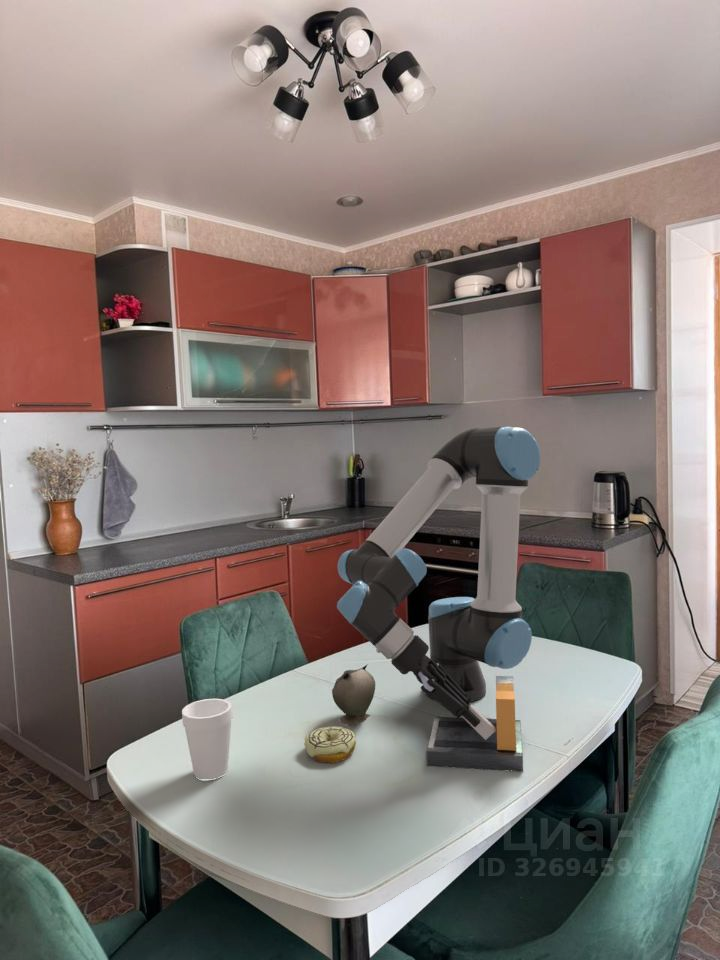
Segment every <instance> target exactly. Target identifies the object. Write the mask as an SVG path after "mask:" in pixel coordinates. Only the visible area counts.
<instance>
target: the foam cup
mask: <svg viewBox="0 0 720 960" xmlns="http://www.w3.org/2000/svg"><path fill="white" fill-rule="evenodd" d="M181 715H182V716H181V717H182V719H181V720H182V725H183V727H184V730H185V736H186V740H187V745H188V750H189V755H190V756H189V757H190V760H191V761H190V762H191V765H192V770H193V776H194V775H195V776H196V777H197V778H199V779H214V778H218V777H220V776H222V775H224V774H225V773H226V771H227V772H228V769H229V758H230V757H229V756H230V745H231V744H230V742H231V728H232V719H233V718H234V717H233V706H232V702H230V701H229V700H227V699H224V698H223V699H222V698H207V699H201V700H196V701H192V702H190V703H189V704H186V705H185V706H184V707H183V708H182V710H181ZM226 774H227V773H226ZM195 776H194V777H195Z"/></svg>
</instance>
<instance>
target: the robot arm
mask: <svg viewBox="0 0 720 960" xmlns="http://www.w3.org/2000/svg"><path fill="white" fill-rule="evenodd" d="M540 464H541V452H540V447H539V444H538V442H537V440H536V439H535V438H534V436H533V434H532V433H531V432H529V431H528V430H527V429H525V428H522V427H515V426H513V427H512V426H502V427H501V426H499V427H497V426H496V427H472V428H470V429H466V430H464V431H462V432H459V433H458V434H456V435H455V436H453V437H452V438H451V439H449V440H448V441H447V442H446V443H445V444H444V445H442V447H440V448H439V449H438V451H436V453H435V454H434V455H433V456H432V457H431V458H430V460H428V462H427V470H425V471H424V472H423V474H422V475H421V476H420V477H419V478H418V480H417V481H416V482H415V483H414V484H413V486H411V488H410V489H409V490H408V491H407V492H406V494H404V496H403V497H402V498H401V499H400V501H398V503H397V504H396V505H395V506H394V507H393V508H392V510H390V512H388V514H387V515H386V517H385V518H384V519H383V520H382V521H381V522H380V523H379V525H378V526H377V527H376V528H375V529H374V530H373V532H372V533H371V534H370V535H369V536H368V537H367V538H366V539H365V541H364V542H363V543H362V544H361V545H360V546H359V547H358V549H356V548H355V549H349V550H346V551H345V552H343V553H342V554H341V555H340V556H339V559H338V562H337V572H338V576H339V577H340V578H341V579H342V580H343V581H345V582H347V583H349V584H352V586H351V587H350V588H349V589H348V590H347V591H346V592H345V593H344V595H343V596H341V597H340V599H339V600H337V603H336V609H337V610H338V612H340V613H341V615H342V616H343V617H344V618H345V619H346V620H347V622H348V624H350V625H351V626H352V627H354V628H355V630H357V631H358V633H360V634H361V635H362V636H363V637H364V638H365V639H366V640H368V642H369V643H371V644H372V646H373V647H375V648H376V649H375V650H376V651H375V652H376V653H377V654H382V655H383V656H384V657H385V658H386V659H387V660H391V661H390V662H391V665H393V667H394V668H395V669H397V670H398V671H399V672H400V673H401V674H402V675H407V674H408V673H409V672H410V673H411V672H412V673H413V675H414V677H416V680H417V681H418V682H419V683H420V684H421V686H420V690H421V691H422V692H423V693H424V694H425V696H427V697H428V698H429V699H432V700H433V701H434V700H435V701H436V702H437V703H439V704H440V705H441V706H442V707H443V708H444V709H446V711H448V712H449V713H451V715H453V716H454V717H456V718H457V719H459V718H464V719H465V720H466V721H467V722H468V723H469V724H470V725H471V726H472V727H473V728H474V729H475V730H476V731H477V732H478V733H479V734H480V735H481V736H482V737H483V738H484V739H485V740H486V739H487V738H488V737H489V736H491V735H492V734H493V733H494V732H495V729H496V728H495V727H494V726H493V725H492V724H491V723H490V722H489V721H488V720H487V719H488V718H486V717H485V716H484V715H483V713H482V712H480V711H479V710H478V708H476V707H475V706H474V705H473V704H472V703H473V702H475V701H478V700H480V699H482V698H484V697H485V696H486V693H487V683H486V680H485V677H484V674H483V671H482V668H481V666H480V662H481V663H483V664H486V665H487V666H489V667H493V668H499V669H503V670H509V669H513V668H515V667H517V666H518V665H519V664H521V662H523V660H524V658H526V657H527V654H528V653H529V650H530V648H531V645H532V639H533V636H532V635H533V634H532V629H531V627H530V625H529V623H527V621H525V620H524V619H522V617H523V616H522V612H523V610H522V606H521V605H520V604H519V603H518V601H517V600H516V595H517V593H516V591H517V577H518V576H517V574H518V573H517V571H518V556H519V555H518V554H519V553H518V552H519V533H520V531H519V530H520V511H521V509H520V508H521V495H522V494H523V492H525V491H526V490H527V489H528V488H529V480H530V479H532V478H533V477H535V475H536V474H537V471H539V468H540ZM473 478H475V486H476V488H477V489H478V490H479V491H480V492H481V510H480V511H481V512H480V533H479V550H478V551H479V552H478V553H479V554H478V556H479V557H478V572H477V573H478V574H477V576H478V577H477V593H476V594H477V595H476V597H475V598H474V597H472V596H471V597H470V596H455V597H446V598H441V599H437V600H435V601H432V602H431V603H430V604H429V606H428V617H427V620H428V621H427V622H428V637H429V639H428V640H429V645H428V644H427V643H426V642H425V641H424V640H423V639H422V637H420V636H419V635H416V634H415V635H414V630H413V629H412V628H411V627H410V626H409V625H408V624H407V622H404V620H402V618H401V617H399V616H398V615H397V614H396V613H395V610H396V609H397V608H398V607H399V605H400V604H401V603H403V601H405V599H406V598H407V597H408V596H409V595H410V594H411V593H412V592H413V591H414V590H415V589H416V588H417V587H418V586H419V583H421V581H422V580H423V579H424V578H425V576H426V575H427V571H428V570H427V566H426V564H425V562H424V560H423V559H422V557H420V555H419V554H418V553H416V552H415V551H413V550H412V549H409V548H405V546H406V545H407V544H408V543H409V542H410V540H411V539H412V538H413V537H414V536H415V534H416V533H417V532H418V531H419V530H420V528H422V526H423V525H424V524H425V522H426V521H427V520H428V519H429V518H430V517H431V516H432V514H433V513H434V512H435V510H437V508H438V507H440V505H441V504H442V502H443V501H444V500H445V499H446V498H447V496H449V494H450V493H451V492H452V490H458V489H460V488H461V486H462V485H463V484H464V483H465V482H466V481H468V480H469V479H473ZM428 652H429V656H428V655H427V653H428Z"/></svg>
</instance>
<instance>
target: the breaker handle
mask: <svg viewBox="0 0 720 960" xmlns="http://www.w3.org/2000/svg"><path fill="white" fill-rule="evenodd" d="M515 695H516V694H515V690H514V691H496V690H495V713H496V715H495V716H496V720H497V750H513V751H516V728H515V720H516V698H515Z"/></svg>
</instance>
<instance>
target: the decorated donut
mask: <svg viewBox="0 0 720 960" xmlns="http://www.w3.org/2000/svg"><path fill="white" fill-rule="evenodd" d="M303 743H304V748H305V750H306V753H307V755H309V756H310V757H311V758H312V759H315V760H316V761H317V762H322V763H330V764H331V763H332V764H336V763H338V762H342V761H343V760H347V759H348V758H349V757H350V756H351V755H352V754H353V752H354V750H355V749H356V746H357V745H356V744H357V740H356V735H355V733H354V732H353V731H352V730H350V729H348V728H345V727H342V726H334V725H333V726H325V727H321V728H320V727H319V728H317V729H313V730H312V731H310V732H309V733H308V734H307V735H306V736H305V737H304V742H303Z"/></svg>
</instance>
